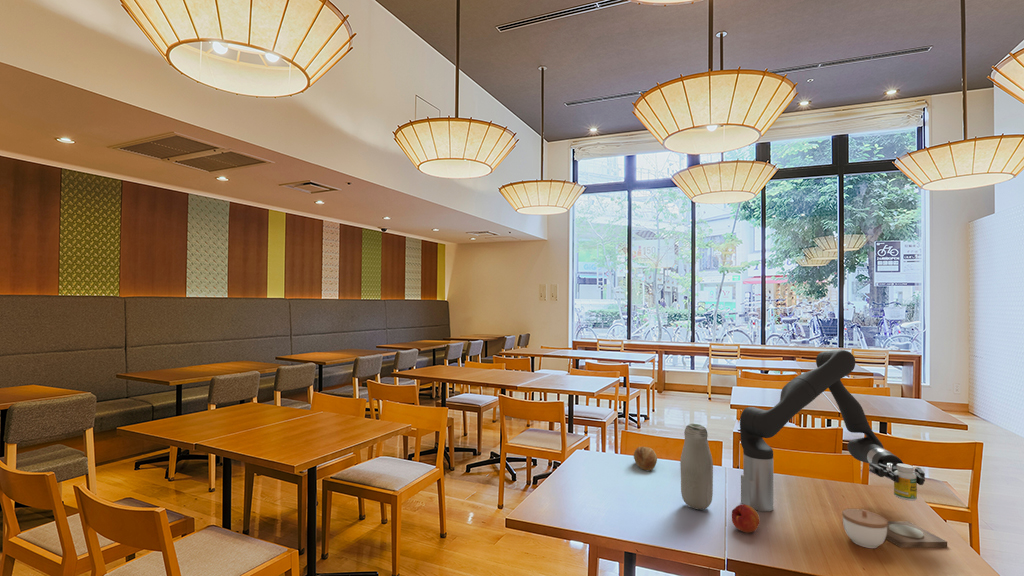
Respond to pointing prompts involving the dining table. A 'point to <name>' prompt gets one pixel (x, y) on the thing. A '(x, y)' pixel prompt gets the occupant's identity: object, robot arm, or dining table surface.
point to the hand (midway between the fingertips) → (909, 480)
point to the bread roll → (645, 458)
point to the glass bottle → (696, 468)
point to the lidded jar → (865, 527)
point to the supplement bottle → (906, 483)
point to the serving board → (911, 535)
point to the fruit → (745, 518)
